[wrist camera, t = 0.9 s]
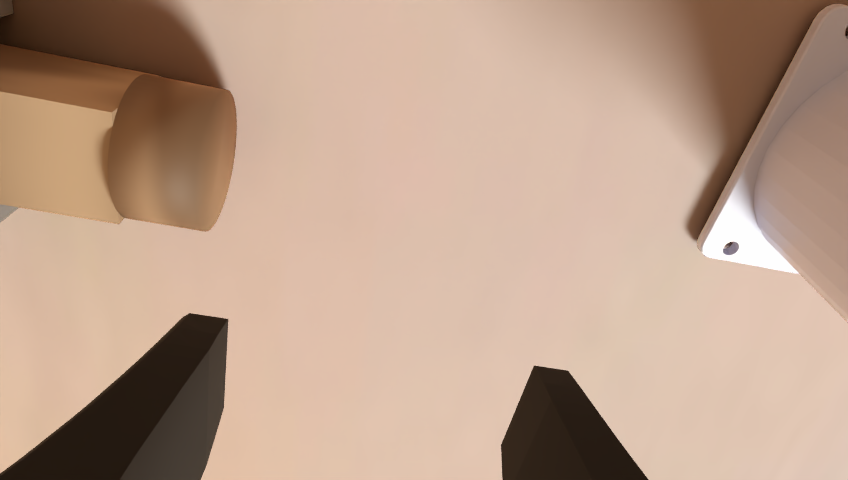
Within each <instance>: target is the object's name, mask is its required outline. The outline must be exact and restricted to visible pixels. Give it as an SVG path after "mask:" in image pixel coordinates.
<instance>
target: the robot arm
mask: <svg viewBox="0 0 848 480" xmlns="http://www.w3.org/2000/svg"><path fill="white" fill-rule="evenodd" d="M847 26H848V5H844V4H832V5H829V6H827V7H825V8H824V9H823V10H821V11H820V12H819V13H818V14H817V16H816V17H815V19H814V20H813V22H812V24H811V26H810V28H809V30H808V31H807V33H806V35H805V37H804V39H803V41H802V43H801V45H800V47H799V48H798V50H797V52H796V54H795V56H794V58H793V60H792V62H791V64H790V65H789V67H788V69H787V71H786V73H785V75H784V77H783V79H782V81H781V82H780V84H779V86H778V88H777V90H776V92H775V94H774V96H773V98H772V99H771V101H770V103H769V105H768V107H767V109H766V111H765V113H764V115H763V116H762V118H761V120H760V122H759V124H758V126H757V128H756V130H755V131H754V133H753V135H752V137H751V139H750V141H749V143H748V145H747V147H746V148H745V150H744V152H743V154H742V156H741V158H740V160H739V162H738V164H737V165H736V167H735V169H734V171H733V173H732V175H731V177H730V179H729V181H728V182H727V184H726V186H725V188H724V190H723V192H722V194H721V196H720V198H719V199H718V201H717V203H716V205H715V207H714V209H713V211H712V213H711V215H710V216H709V218H708V220H707V222H706V224H705V226H704V228H703V230H702V232H701V233H700V235H699V237H698V240H697V247H698V249H699V250H700V251H701V252H702V254H703V255H704V256H706V257H709V258H713V259H719V260H724V261H730V262H735V263H741V264H746V265H752V266H757V267H763V268H768V269H774V270H779V271H785V272H790V273H796V274H800V275H801V276H802V277H803V278H804V279H805V280H806V281H807V282H808V283H809V284H810V285H811V286H812V287H813V288H814V289H815V290H816V291H817V292H818V293H819V294H820V295H821V296H822V297H823V298H824V299H825V300H826V301H827V302H828V303H829V304H830V305H831V306H832V307H833V308H834V309H835V310H836V311H837V312H838V313H839V314H840V315H841V316H842V318H843V319H844V320H845V321H846V322H847V323H848V35H847V36H845V31H846V28H847ZM729 242H733V244H732V245H731V246H730V247H728V248H726V249H723V247H724V246H725V245H726V244H727V243H729ZM227 333H228V319H224V318H217V317H211V316H204V315H198V314H191V313H189V314H188V315H186V316H184V317H183V318H182V319H181V320H180V321H179V322H178V323H177V324H176V325H175V326H174V327H173V328H171V329H170V330H169V331H168V332H167V333H166V334H165V335H164V336H163V337H162V338H161V339H160V340H159V341H158V342H157V343H156V344H155V345H154V346H153V347H152V348H151V349H150V350H149V351H148V352H147V353H146V354H144V355H143V356H142V357H141V358H140V359H139V360H138V361H137V362H136V363H135V364H134V365H133V366H131V367H130V368H129V369H128V370H127V371H126V372H125V373H124V374H123V375H121V376H120V377H119V378H118V379H117V380H116V381H115V382H113V383H112V384H111V385H110V386H109V387H108V388H107V389H105V390H104V391H103V392H102V393H101V394H100V395H99V396H97V397H96V398H95V399H94V400H93V401H92V402H91V403H89V404H88V405H87V406H86V407H85V408H83V409H82V410H81V411H80V412H79V413H77V414H76V415H75V416H74V417H73V418H71V419H70V420H69V421H68V422H66V423H65V424H64V425H62V426H61V427H60V428H59V429H57V430H56V431H55V432H54V433H52V434H51V435H50V436H49V437H47V438H46V439H45V440H44V441H42V442H41V443H40V444H39V445H37V446H36V447H35V448H33V449H32V450H31V451H30V452H28V453H27V454H26V455H25V456H23V457H22V458H21V459H19V460H18V461H17V462H15V463H14V464H13V465H11V466H10V467H9V468H7V469H6V470H4V471H3V472H2V473H0V480H201V477H202V475H203V472H204V470H205V468H206V465H207V461H208V458H209V455H210V452H211V449H212V445H213V442H214V439H215V435H216V432H217V429H218V425H219V422H220V419H221V415H222V412H223V408H224V393H225V373H226V353H227ZM501 452H502V477H503V480H648V479H647V477H646V476H645V475H644V473H643V472H642V471H641V469H640V468H639V467H638V465H637V464H636V463H635V462H634V460H633V459H632V458H631V456H630V455H629V454H628V452H627V451H626V450H625V448H624V447H623V446H622V444H621V443H620V441H619V440H618V439H617V437H616V436H615V435H614V433H613V432H612V431H611V429H610V428H609V426H608V425H607V424H606V422H605V421H604V420H603V418H602V417H601V415H600V414H599V413H598V411H597V410H596V408H595V407H594V406H593V404H592V403H591V401H590V400H589V399H588V397H587V396H586V395H585V393H584V392H583V390H582V389H581V388H580V386H579V385H578V384H577V382H576V381H575V379H574V378H573V377H572V375H571V374H570V373H569V372H568V371H566V370H559V369H553V368H546V367H539V366H534V367H533V370H532V372H531V374H530V377H529V379H528V382H527V384H526V386H525V389H524V391H523V394H522V396H521V399H520V401H519V403H518V406H517V408H516V411H515V413H514V415H513V418H512V420H511V423H510V425H509V427H508V430H507V432H506V435H505V437H504V439H503V442H502V444H501Z"/></svg>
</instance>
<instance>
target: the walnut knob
mask: <svg viewBox="0 0 848 480" xmlns="http://www.w3.org/2000/svg"><path fill="white" fill-rule="evenodd" d="M236 130H237V120H236V108H235V102H234V98H233V96H232V94H231V92H230V91H228V90H225V89H220V88H215V87H210V86H205V85H200V84H195V83H190V82H185V81H180V80H175V79H170V78H165V77H160V76H159V75H154V74H149V73H144V72H139V71H134V70H129V69H124V68H119V67H114V66H109V65H104V64H98V63H93V62H88V61H83V60H78V59H73V58H68V57H63V56H58V55H53V54H48V53H43V52H38V51H33V50H28V49H23V48H18V47H13V46H8V45H3V44H0V204H1V205H7V206H13V207H19V208H25V209H31V210H37V211H43V212H49V213H55V214H61V215H67V216H73V217H79V218H85V219H91V220H97V221H103V222H109V223H115V224H120V222H121V221H122V220H123V219H124V218H128V219H134V220H140V221H146V222H152V223H158V224H164V225H170V226H176V227H181V228H187V229H193V230H199V231H205V232H206V231H209V230H210V229H211V228H212V227H213V226H214V224H215V223H216V221H217V219H218V217H219V215H220V213H221V210H222V208H223V205H224V202H225V199H226V195H227V192H228V188H229V184H230V179H231V174H232V169H233V163H234V156H235V147H236Z"/></svg>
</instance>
